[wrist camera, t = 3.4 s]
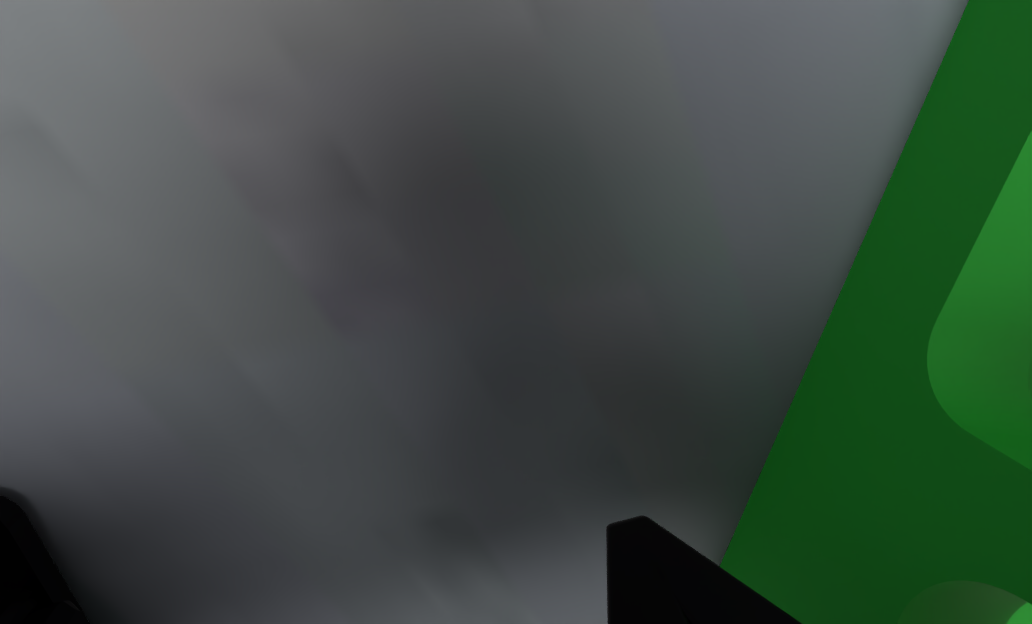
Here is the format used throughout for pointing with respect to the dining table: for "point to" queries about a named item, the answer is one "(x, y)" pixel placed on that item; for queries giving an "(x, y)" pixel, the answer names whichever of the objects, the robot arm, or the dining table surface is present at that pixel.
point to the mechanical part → (920, 377)
